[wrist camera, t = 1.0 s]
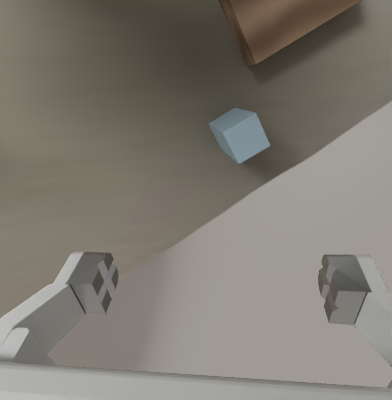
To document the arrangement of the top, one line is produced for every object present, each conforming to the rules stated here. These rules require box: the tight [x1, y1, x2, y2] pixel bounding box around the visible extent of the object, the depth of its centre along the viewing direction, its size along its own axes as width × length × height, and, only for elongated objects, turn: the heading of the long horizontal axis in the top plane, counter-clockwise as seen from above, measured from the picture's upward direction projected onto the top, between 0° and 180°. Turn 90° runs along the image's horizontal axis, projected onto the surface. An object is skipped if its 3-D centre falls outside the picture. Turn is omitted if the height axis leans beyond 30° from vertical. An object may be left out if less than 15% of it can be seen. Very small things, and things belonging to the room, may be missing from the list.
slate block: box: [208, 108, 271, 164], centre depth 44 cm, size 5×5×10 cm
